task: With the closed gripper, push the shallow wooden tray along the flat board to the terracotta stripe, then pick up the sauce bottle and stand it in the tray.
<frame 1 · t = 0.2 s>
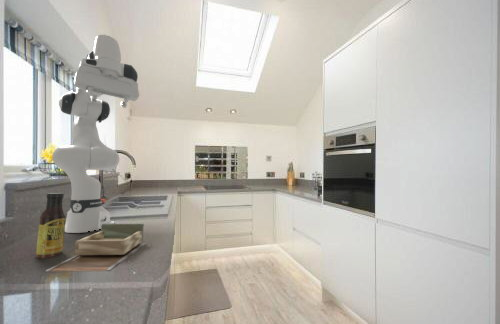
hand: (109, 103, 81), 51 cm above the worktop, tool tilted 20°, fingers open, 8 cm apart
flat board: (103, 258, 69), on the worktop
shallow wooden tray: (112, 239, 74), point 5 cm above the worktop, slide at 0.0 cm
sauce bottle: (49, 258, 69), on the worktop
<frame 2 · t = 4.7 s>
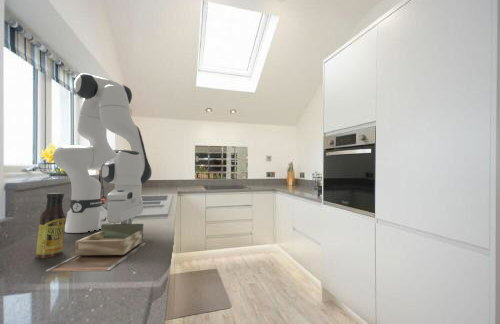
hand: (126, 230, 83), 5 cm above the worktop, tool pointing down, fingers closed
shallow wooden tray: (112, 239, 74), point 5 cm above the worktop, slide at 0.1 cm, touching gripper
everything else where it was.
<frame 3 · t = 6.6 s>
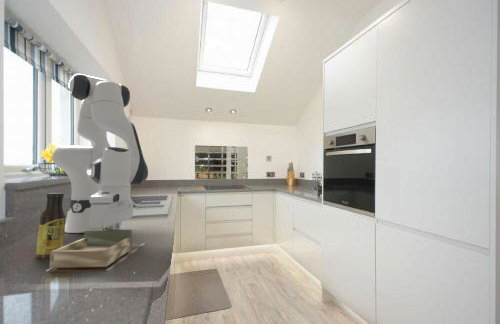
hand: (113, 237, 74), 5 cm above the worktop, tool pointing down, fingers closed
shallow wooden tray: (95, 247, 65), point 5 cm above the worktop, slide at 9.0 cm, touching gripper
everything else where it was.
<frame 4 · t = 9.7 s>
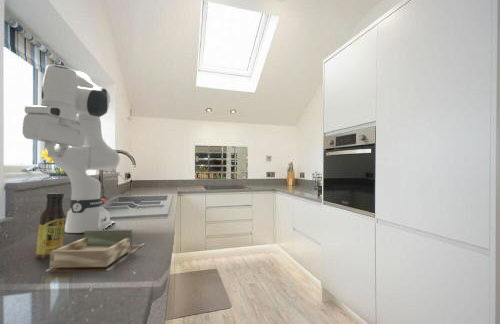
hand: (56, 157, 71), 31 cm above the worktop, tool pointing down, fingers closed
shallow wooden tray: (95, 247, 65), point 5 cm above the worktop, slide at 9.0 cm
everything else where it was.
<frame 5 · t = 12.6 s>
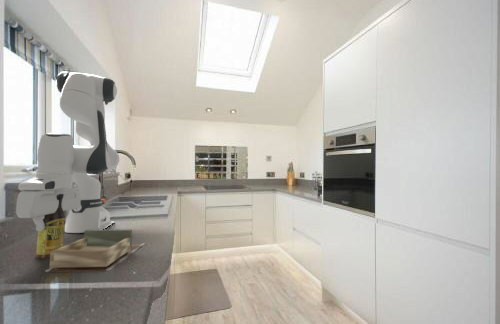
hand: (51, 227, 70), 9 cm above the worktop, tool pointing down, fingers closed on sauce bottle, 6 cm apart
sauce bottle: (49, 258, 69), on the worktop, touching gripper
everything else where it was.
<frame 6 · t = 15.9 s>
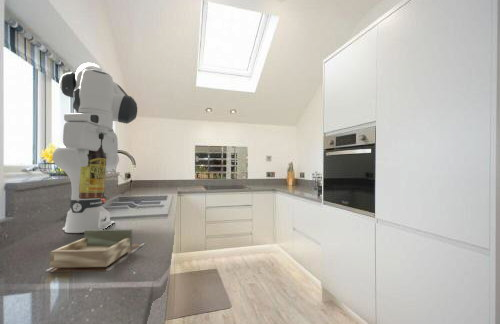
hand: (93, 167, 67), 28 cm above the worktop, tool pointing down, fingers closed on sauce bottle, 6 cm apart
sauce bottle: (92, 199, 67), point 18 cm above the worktop, touching gripper
everything else where it was.
when the fingers open (14 cm above the worktop, at t = 19.1 s): sauce bottle drops 1 cm, resting on shallow wooden tray.
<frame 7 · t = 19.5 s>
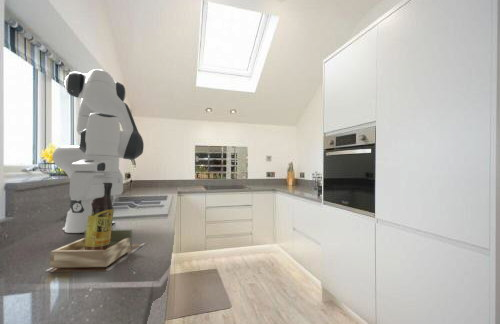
hand: (99, 212, 66), 15 cm above the worktop, tool pointing down, fingers open, 8 cm apart
shallow wooden tray: (95, 247, 65), point 5 cm above the worktop, slide at 9.0 cm, touching sauce bottle
sauce bottle: (97, 250, 66), point 4 cm above the worktop, touching shallow wooden tray
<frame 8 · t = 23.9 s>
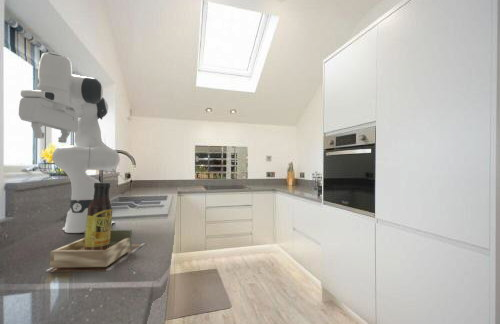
hand: (51, 140, 75), 37 cm above the worktop, tool pointing down, fingers open, 8 cm apart
nothing on the worktop moved.
at the end: shallow wooden tray slide at 9.0 cm; sauce bottle inside the target area on the shallow wooden tray (1.0 cm from its centre), point 2.4 cm above the shallow wooden tray's base; sauce bottle tilted 0° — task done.
